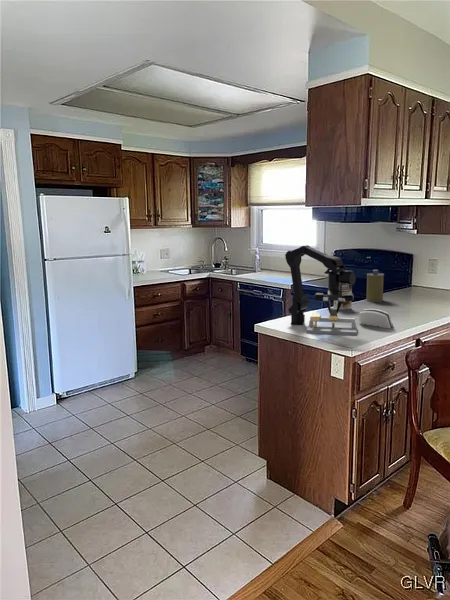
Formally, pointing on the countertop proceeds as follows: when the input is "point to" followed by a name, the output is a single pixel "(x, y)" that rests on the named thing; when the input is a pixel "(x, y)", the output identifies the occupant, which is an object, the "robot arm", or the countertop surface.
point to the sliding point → (333, 316)
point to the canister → (375, 286)
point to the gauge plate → (328, 329)
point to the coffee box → (345, 290)
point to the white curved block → (375, 318)
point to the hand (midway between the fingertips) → (333, 313)
